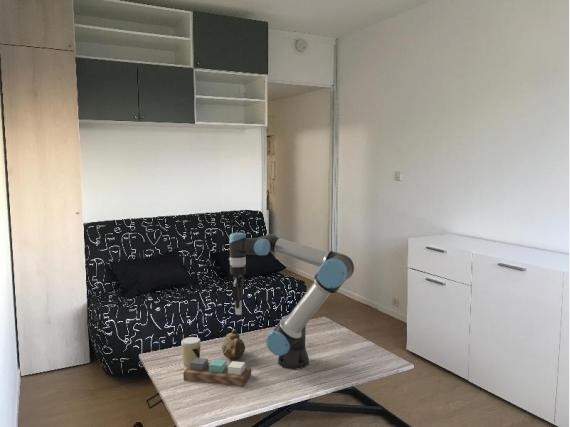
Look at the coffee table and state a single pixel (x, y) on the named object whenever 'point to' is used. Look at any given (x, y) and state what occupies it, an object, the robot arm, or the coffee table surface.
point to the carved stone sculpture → (233, 346)
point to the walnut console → (217, 376)
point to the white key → (236, 368)
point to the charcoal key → (199, 364)
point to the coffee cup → (190, 350)
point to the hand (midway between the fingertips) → (238, 314)
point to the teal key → (217, 366)
